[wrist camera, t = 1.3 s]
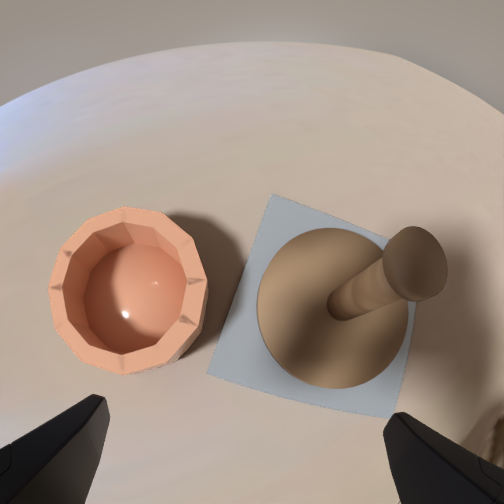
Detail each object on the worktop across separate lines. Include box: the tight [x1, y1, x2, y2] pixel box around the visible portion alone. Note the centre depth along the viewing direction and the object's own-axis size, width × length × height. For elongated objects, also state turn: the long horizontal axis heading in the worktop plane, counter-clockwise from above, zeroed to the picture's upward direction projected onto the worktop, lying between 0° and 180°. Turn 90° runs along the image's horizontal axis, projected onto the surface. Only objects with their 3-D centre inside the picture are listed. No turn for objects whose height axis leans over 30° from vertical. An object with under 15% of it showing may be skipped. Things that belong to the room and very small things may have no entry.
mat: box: [207, 194, 417, 419], centre depth 23 cm, size 16×16×1 cm
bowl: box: [48, 206, 208, 375], centre depth 19 cm, size 11×11×4 cm
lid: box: [256, 226, 448, 389], centre depth 17 cm, size 13×13×11 cm
